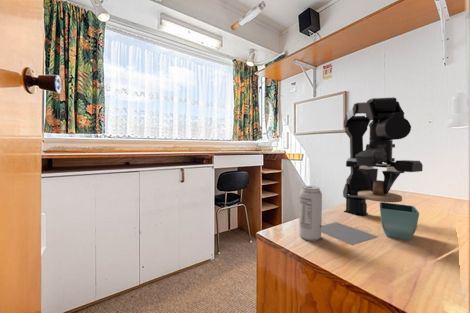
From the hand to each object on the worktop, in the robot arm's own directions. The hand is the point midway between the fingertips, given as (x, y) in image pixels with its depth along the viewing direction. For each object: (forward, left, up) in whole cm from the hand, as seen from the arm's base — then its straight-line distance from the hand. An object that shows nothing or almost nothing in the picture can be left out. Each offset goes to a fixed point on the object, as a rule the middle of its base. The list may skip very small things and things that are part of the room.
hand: (379, 192), depth 65 cm
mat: (-6, -8, -13) cm, 16 cm away
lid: (0, 0, -1) cm, 1 cm away
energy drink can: (-8, -20, -13) cm, 25 cm away
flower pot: (+3, +4, -13) cm, 14 cm away
